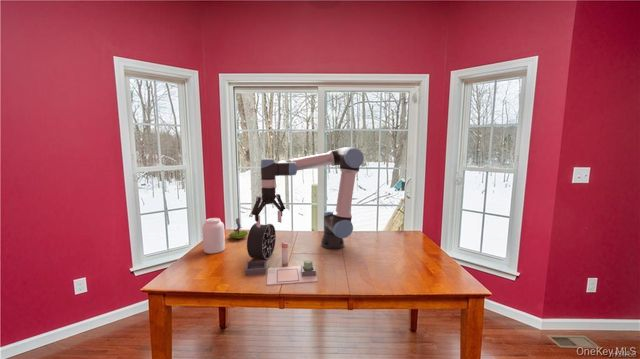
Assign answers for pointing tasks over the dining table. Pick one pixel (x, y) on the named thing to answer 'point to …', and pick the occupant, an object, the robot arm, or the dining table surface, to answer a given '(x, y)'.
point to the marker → (284, 253)
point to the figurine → (239, 233)
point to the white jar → (213, 236)
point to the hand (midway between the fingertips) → (269, 224)
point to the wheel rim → (261, 241)
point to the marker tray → (255, 268)
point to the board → (287, 276)
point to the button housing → (308, 272)
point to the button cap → (308, 265)
